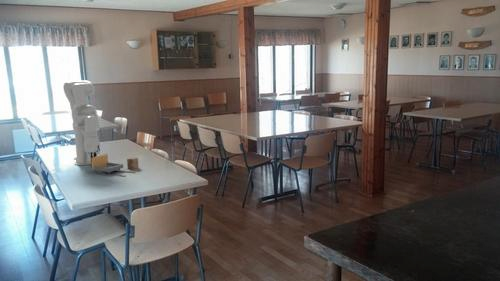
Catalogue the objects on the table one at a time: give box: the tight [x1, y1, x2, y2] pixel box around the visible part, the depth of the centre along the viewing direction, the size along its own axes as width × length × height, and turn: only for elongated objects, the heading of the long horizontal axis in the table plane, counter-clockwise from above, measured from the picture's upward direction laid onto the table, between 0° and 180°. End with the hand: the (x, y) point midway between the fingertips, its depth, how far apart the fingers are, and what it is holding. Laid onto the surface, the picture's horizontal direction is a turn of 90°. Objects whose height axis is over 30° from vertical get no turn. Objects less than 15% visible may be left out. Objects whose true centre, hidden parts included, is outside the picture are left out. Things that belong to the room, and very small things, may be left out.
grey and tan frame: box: [91, 153, 124, 173], centre depth 264 cm, size 14×13×9 cm
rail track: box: [96, 169, 137, 177], centre depth 263 cm, size 23×11×1 cm, turn 65°
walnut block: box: [126, 156, 139, 171], centre depth 274 cm, size 5×5×7 cm
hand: (93, 162), depth 269 cm, fingers closed
